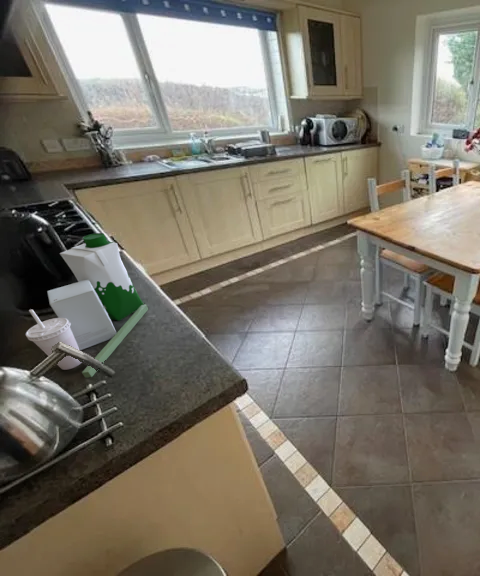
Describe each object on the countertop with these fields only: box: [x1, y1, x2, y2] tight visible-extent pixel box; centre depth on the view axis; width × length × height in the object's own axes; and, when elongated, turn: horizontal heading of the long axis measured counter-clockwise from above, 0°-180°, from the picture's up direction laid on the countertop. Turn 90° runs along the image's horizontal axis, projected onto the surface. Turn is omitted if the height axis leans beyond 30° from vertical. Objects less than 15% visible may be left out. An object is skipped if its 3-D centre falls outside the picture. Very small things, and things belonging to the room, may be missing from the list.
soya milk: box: [59, 232, 145, 322], centre depth 80 cm, size 9×9×20 cm
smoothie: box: [25, 308, 83, 371], centre depth 65 cm, size 6×6×14 cm
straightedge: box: [81, 304, 149, 379], centre depth 75 cm, size 1×24×2 cm, turn 8°
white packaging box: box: [46, 279, 118, 351], centre depth 73 cm, size 7×7×13 cm
